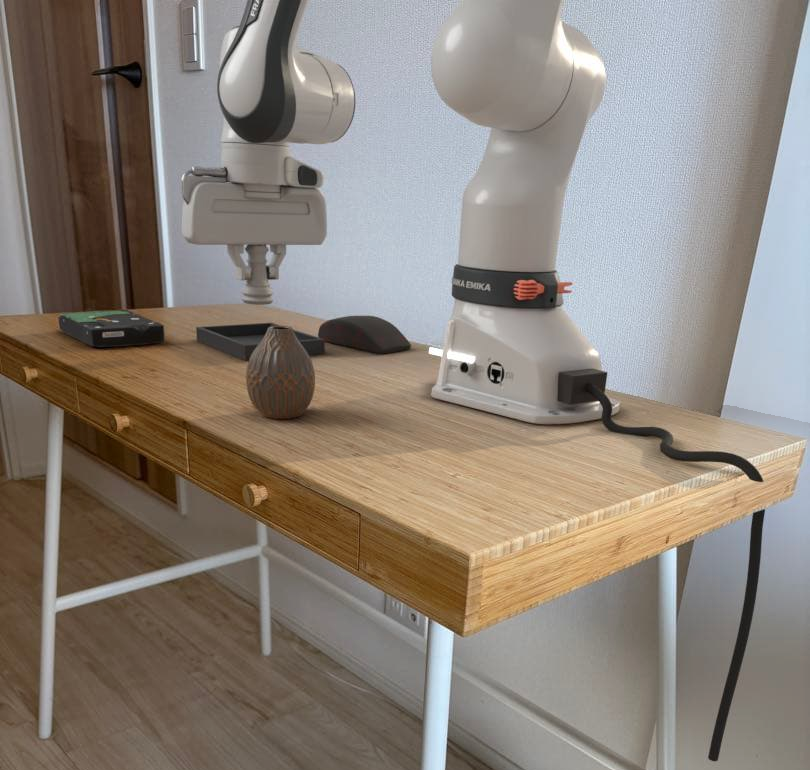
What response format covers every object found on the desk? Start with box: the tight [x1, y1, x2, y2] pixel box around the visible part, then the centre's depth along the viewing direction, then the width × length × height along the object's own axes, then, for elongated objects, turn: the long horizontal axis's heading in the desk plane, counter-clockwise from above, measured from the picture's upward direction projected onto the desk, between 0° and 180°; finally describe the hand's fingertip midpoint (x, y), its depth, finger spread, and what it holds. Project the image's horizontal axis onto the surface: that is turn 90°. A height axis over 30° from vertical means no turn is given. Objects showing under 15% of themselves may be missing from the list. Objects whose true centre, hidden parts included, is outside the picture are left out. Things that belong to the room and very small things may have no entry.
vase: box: [245, 325, 316, 420], centre depth 84 cm, size 7×7×9 cm
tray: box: [195, 322, 326, 362], centre depth 117 cm, size 15×12×2 cm
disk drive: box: [57, 309, 166, 348], centre depth 118 cm, size 10×3×15 cm
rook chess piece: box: [241, 245, 275, 306], centre depth 114 cm, size 4×4×8 cm
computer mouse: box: [317, 315, 412, 355], centre depth 123 cm, size 8×14×4 cm, turn 49°
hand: (257, 279), depth 114 cm, fingers closed on rook chess piece, 3 cm apart
